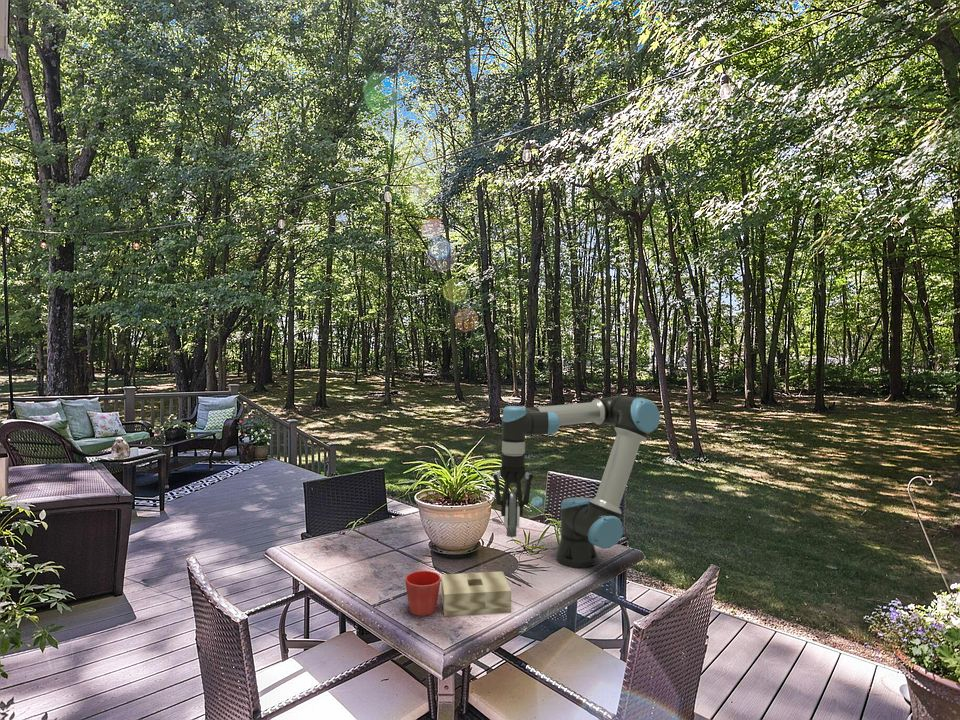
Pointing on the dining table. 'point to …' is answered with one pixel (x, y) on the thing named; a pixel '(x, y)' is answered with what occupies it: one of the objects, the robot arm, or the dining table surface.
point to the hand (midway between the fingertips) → (511, 525)
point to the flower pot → (422, 591)
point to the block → (475, 593)
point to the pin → (512, 513)
